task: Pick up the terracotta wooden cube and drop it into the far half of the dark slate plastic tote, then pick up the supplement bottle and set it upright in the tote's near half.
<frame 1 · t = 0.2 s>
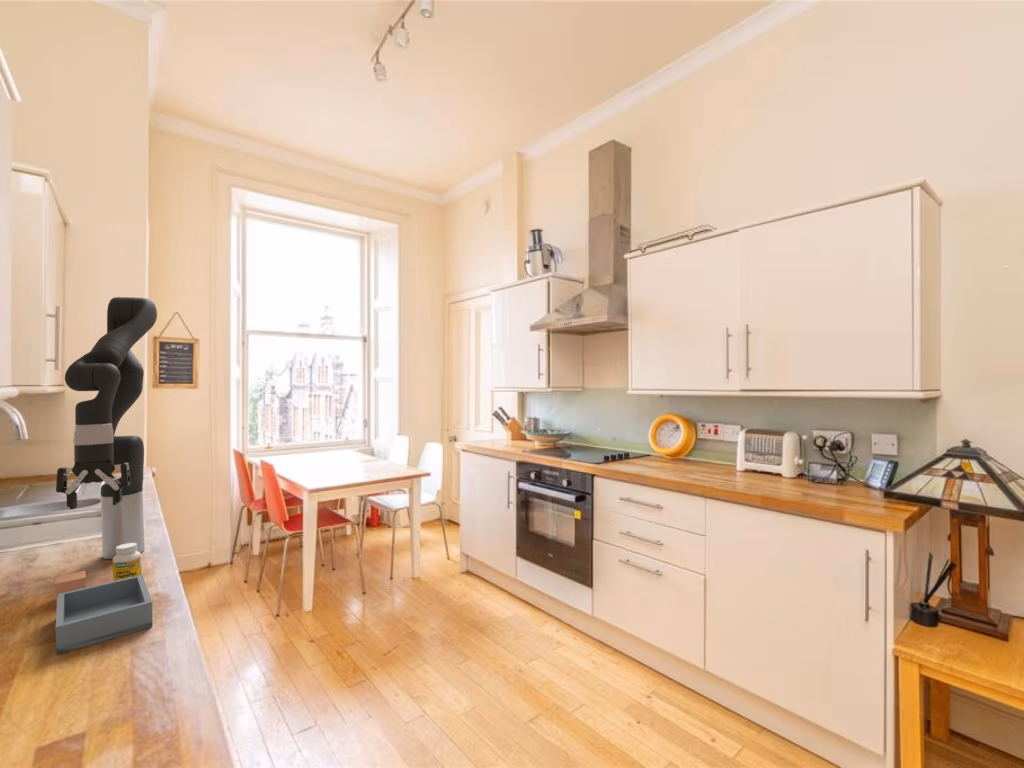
hand: (94, 506, 122), 17 cm above the countertop, tool pointing down, fingers open, 8 cm apart
supplement bottle: (127, 585, 116), on the countertop
tote: (104, 622, 99), on the countertop
terracotta cube: (71, 598, 109), on the countertop
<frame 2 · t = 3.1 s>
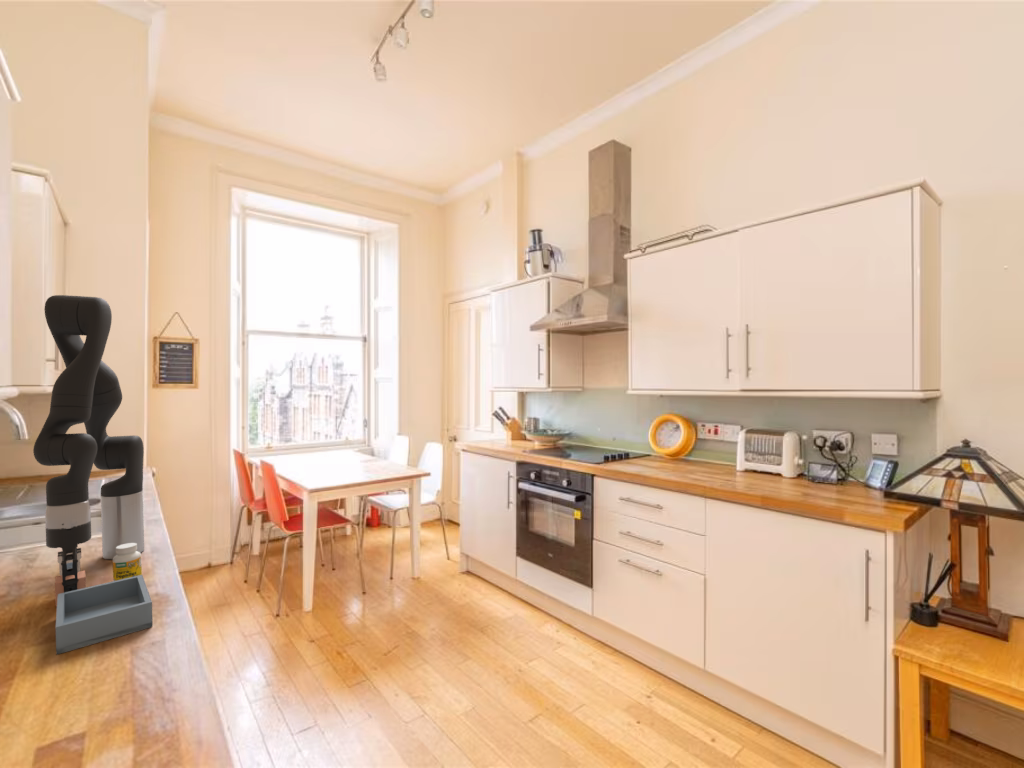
hand: (70, 596, 109), 0 cm above the countertop, tool pointing down, fingers closed on terracotta cube, 5 cm apart
terracotta cube: (71, 598, 109), on the countertop, touching gripper
everything else where it was.
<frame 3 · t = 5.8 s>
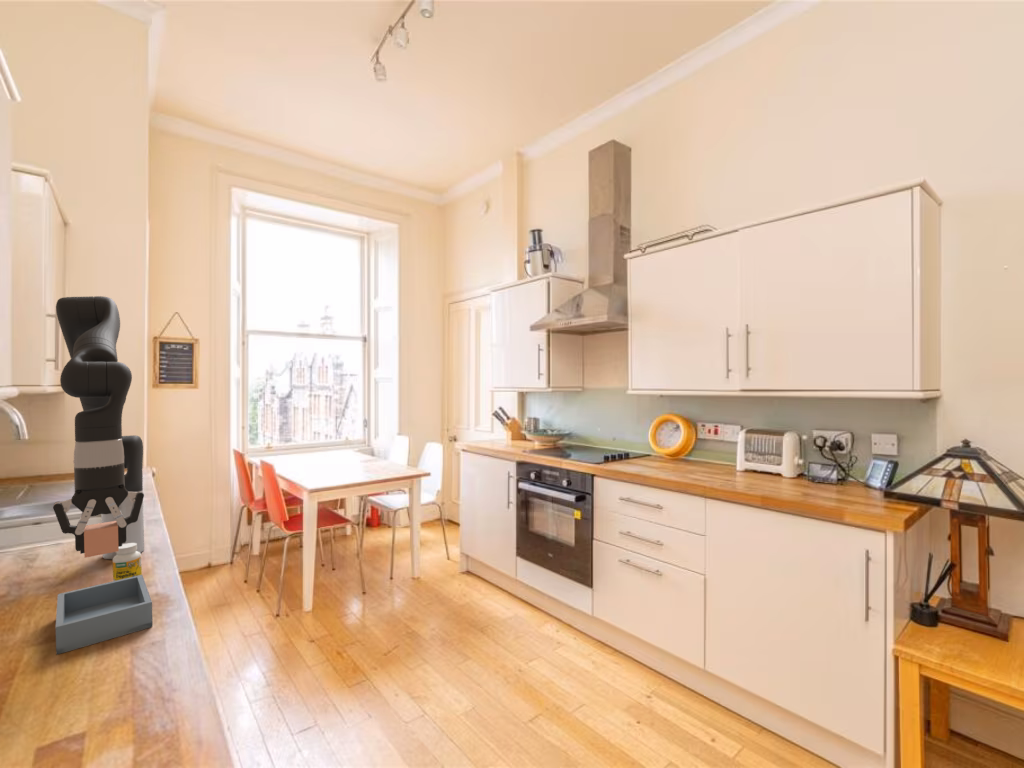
hand: (101, 548, 95), 16 cm above the countertop, tool pointing down, fingers closed on terracotta cube, 5 cm apart
terracotta cube: (101, 551, 95), point 16 cm above the countertop, touching gripper
everything else where it was.
when the fingers open (3 cm above the countertop, at t = 8.7 s): terracotta cube drops 2 cm, resting on tote.
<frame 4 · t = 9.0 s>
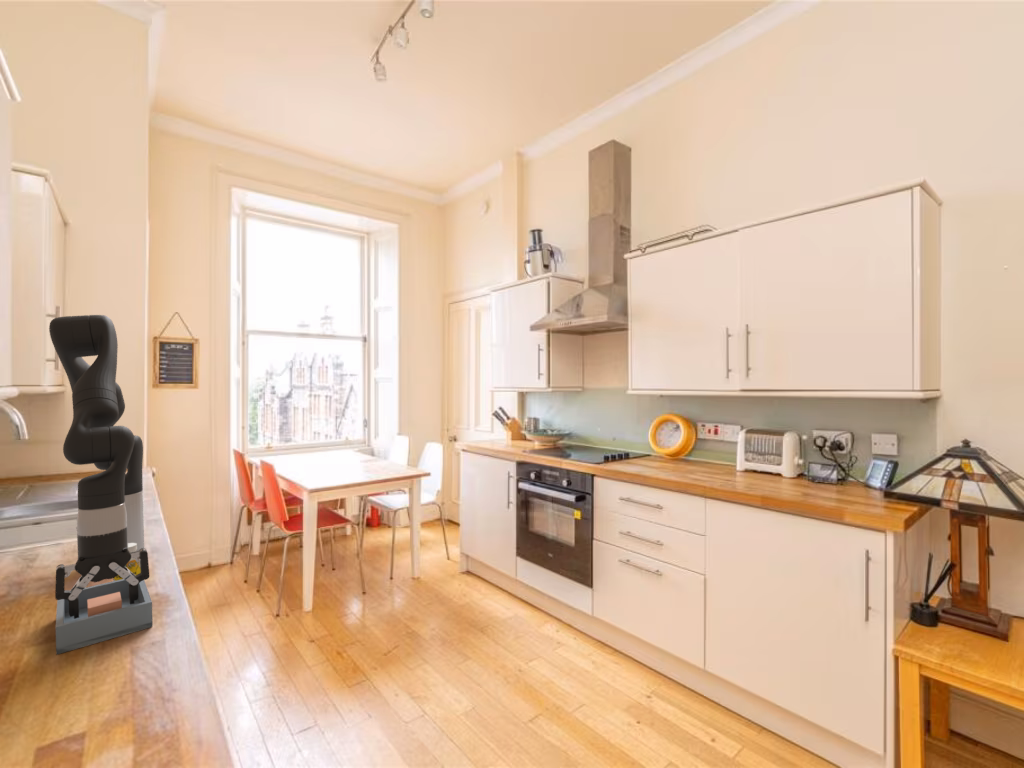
hand: (105, 609, 95), 4 cm above the countertop, tool pointing down, fingers open, 8 cm apart
terracotta cube: (105, 624, 96), point 1 cm above the countertop, touching tote
everything else where it was.
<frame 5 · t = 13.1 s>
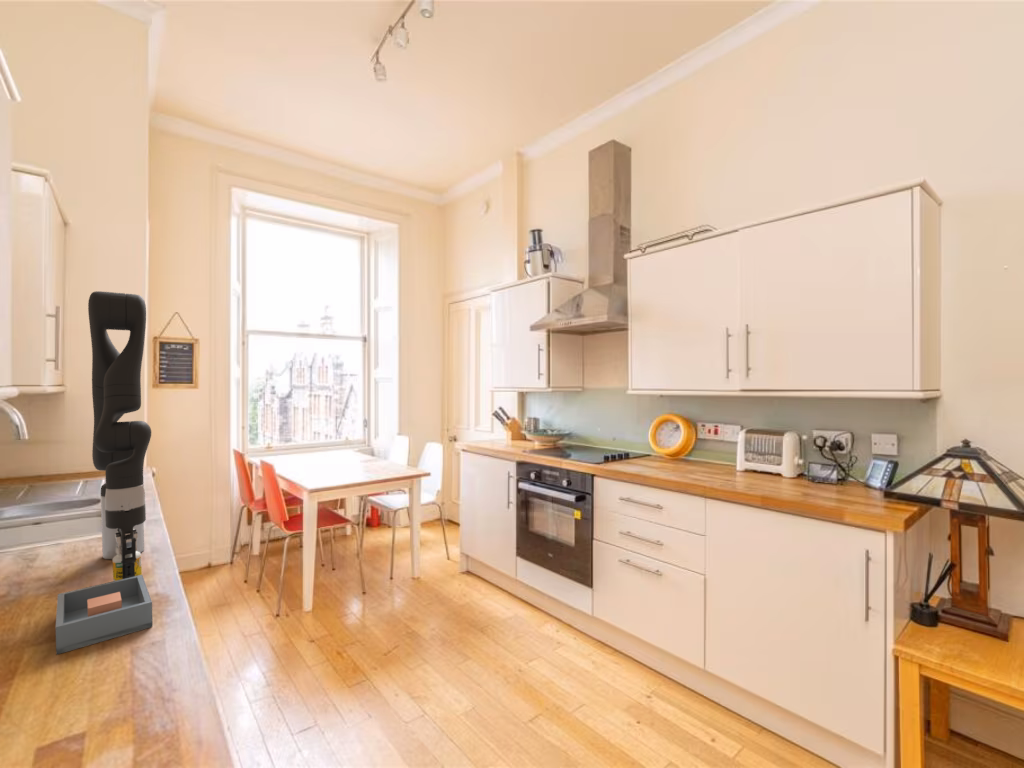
hand: (127, 574, 116), 3 cm above the countertop, tool pointing down, fingers closed on supplement bottle, 5 cm apart
supplement bottle: (127, 585, 116), on the countertop, touching gripper
everything else where it was.
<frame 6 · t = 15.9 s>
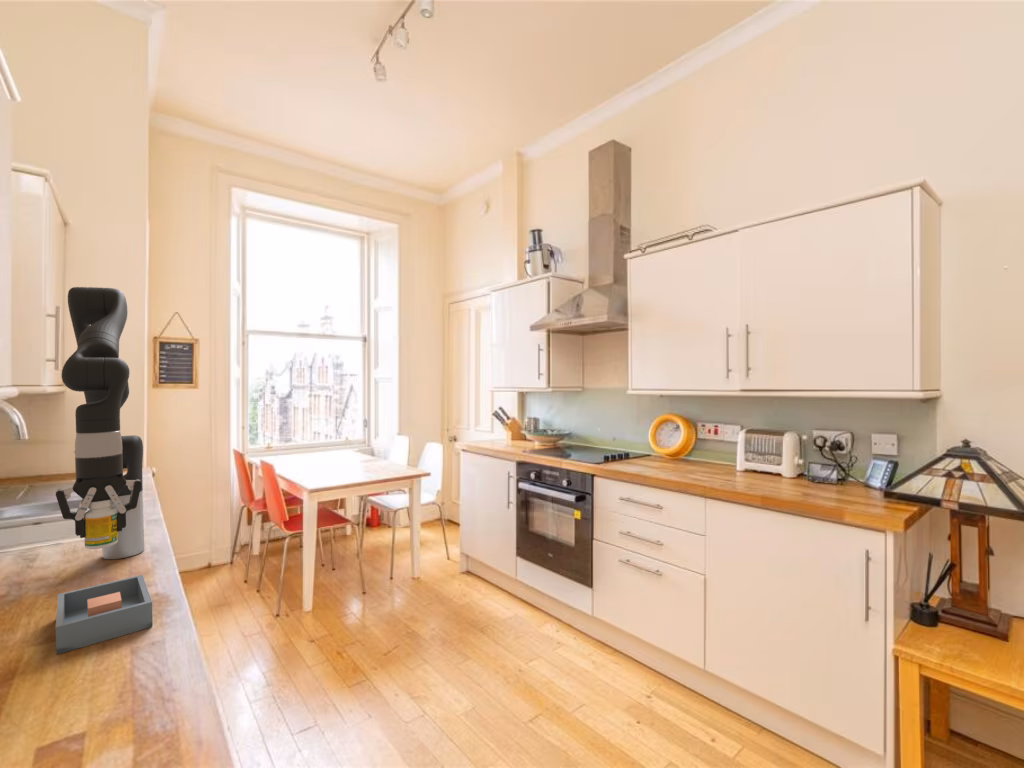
hand: (101, 533, 101), 17 cm above the countertop, tool pointing down, fingers closed on supplement bottle, 5 cm apart
supplement bottle: (101, 546, 101), point 15 cm above the countertop, touching gripper
everything else where it was.
when the fingers open (5 cm above the countertop, at t = 18.6 s): supplement bottle drops 1 cm, resting on tote.
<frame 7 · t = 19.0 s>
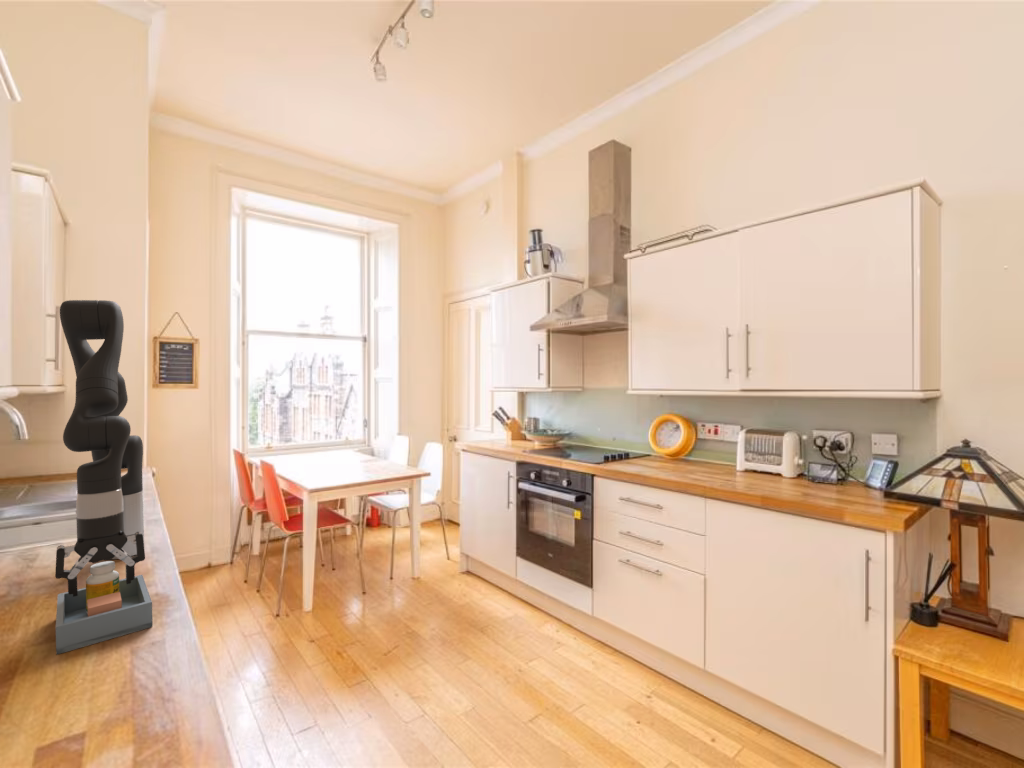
hand: (102, 588, 101), 6 cm above the countertop, tool pointing down, fingers open, 8 cm apart
supplement bottle: (103, 610, 101), point 1 cm above the countertop, touching tote
everything else where it was.
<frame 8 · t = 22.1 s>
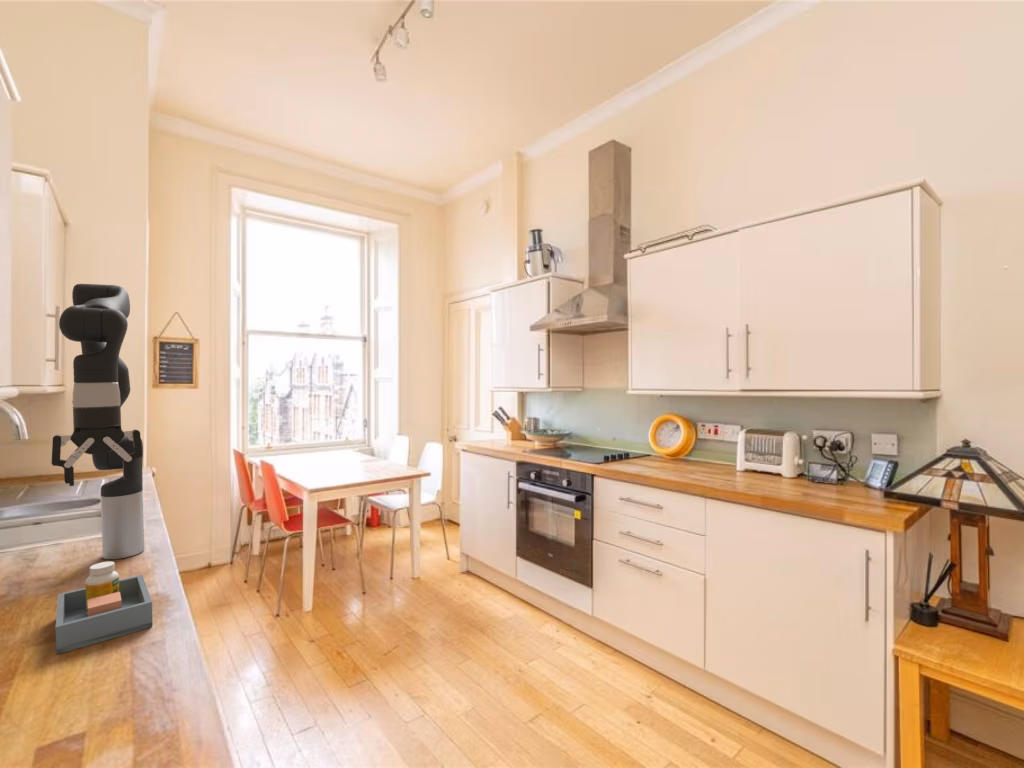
hand: (99, 482, 101), 28 cm above the countertop, tool pointing down, fingers open, 8 cm apart
nothing on the countertop moved.
at the end: terracotta cube inside the target area on the tote (3.9 cm from its centre), point 1.0 cm above the tote's base; supplement bottle inside the target area on the tote (4.1 cm from its centre), point 0.8 cm above the tote's base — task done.
